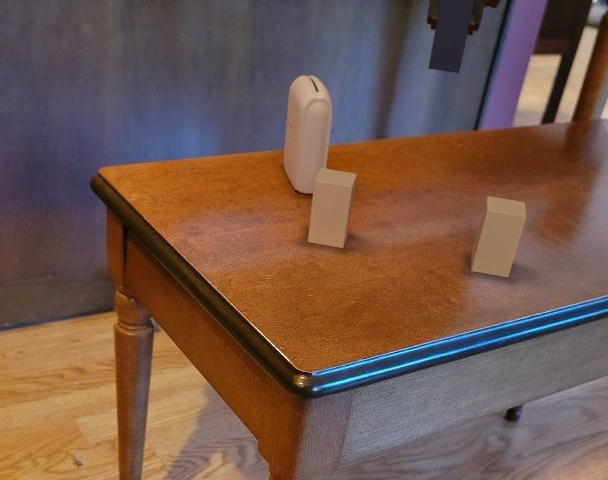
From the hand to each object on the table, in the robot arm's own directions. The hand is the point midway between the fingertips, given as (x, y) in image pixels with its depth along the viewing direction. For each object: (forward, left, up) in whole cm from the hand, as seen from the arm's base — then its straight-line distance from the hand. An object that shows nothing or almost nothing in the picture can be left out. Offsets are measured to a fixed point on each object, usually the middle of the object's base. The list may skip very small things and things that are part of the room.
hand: (452, 27), depth 92 cm
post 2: (-9, +27, -18) cm, 34 cm away
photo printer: (+15, +11, -18) cm, 26 cm away
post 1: (+9, +27, -18) cm, 34 cm away
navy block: (0, -2, -5) cm, 5 cm away
